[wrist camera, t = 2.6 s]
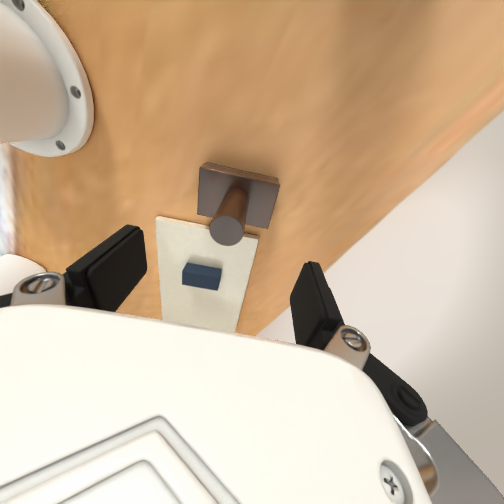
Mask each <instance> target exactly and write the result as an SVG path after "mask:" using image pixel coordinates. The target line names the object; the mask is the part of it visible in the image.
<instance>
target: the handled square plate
mask: <svg viewBox="0 0 504 504" xmlns="http://www.w3.org/2000/svg"><path fill="white" fill-rule="evenodd" d="M279 187H280V183H279V180H278V178H274V177H270V176H265V175H261V174H256V173H252V172H247V171H243V170H239V169H234V168H230V167H225V166H221V165H216V164H212V163H208V162H206V163H205V164H203V165H202V166H201V167H200V171H199V190H198V209H197V214H198V215H203V216H208V217H213V219H212V221H211V223H210V226H209V232H210V235H211V237H212V238H213V240H214V241H215V242H217V243H218V244H220V245H224V246H232V245H235V244H237V243H239V242H240V241H241V239H242V238H243V235H244V229H245V224H247V225H252V226H257V227H261V228H266V229H268V227H269V223H270V220H271V216H272V212H273V209H274V205H275V202H276V198H277V195H278V191H279Z"/></svg>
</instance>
